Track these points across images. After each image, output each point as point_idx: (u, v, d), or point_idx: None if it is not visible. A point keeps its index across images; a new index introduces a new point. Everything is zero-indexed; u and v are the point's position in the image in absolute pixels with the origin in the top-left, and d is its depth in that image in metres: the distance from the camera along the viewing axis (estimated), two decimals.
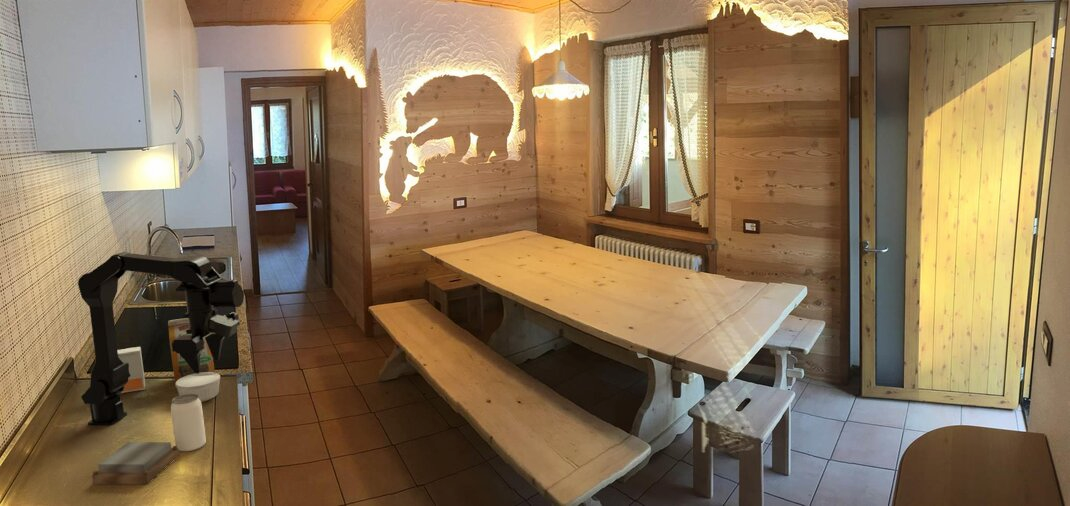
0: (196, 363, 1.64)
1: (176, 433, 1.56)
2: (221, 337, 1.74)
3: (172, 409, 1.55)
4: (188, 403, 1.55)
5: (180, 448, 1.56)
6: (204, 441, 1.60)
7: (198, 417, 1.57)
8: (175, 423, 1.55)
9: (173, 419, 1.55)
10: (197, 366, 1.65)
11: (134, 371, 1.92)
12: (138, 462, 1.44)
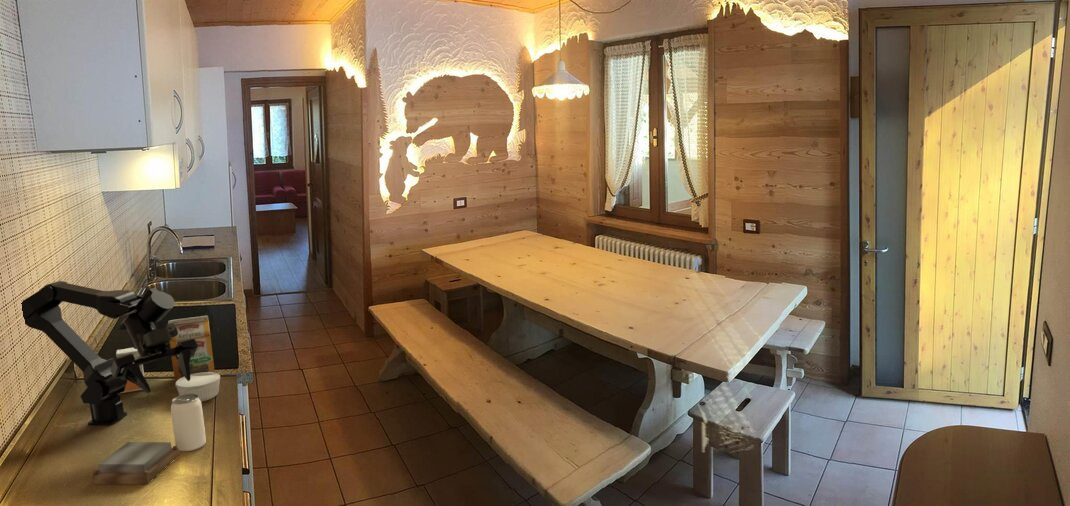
0: (140, 381, 1.58)
1: (176, 433, 1.56)
2: (182, 355, 1.66)
3: (172, 409, 1.55)
4: (188, 403, 1.55)
5: (180, 448, 1.56)
6: (204, 441, 1.60)
7: (198, 417, 1.57)
8: (175, 423, 1.55)
9: (173, 419, 1.55)
10: (143, 384, 1.58)
11: None
12: (138, 462, 1.44)
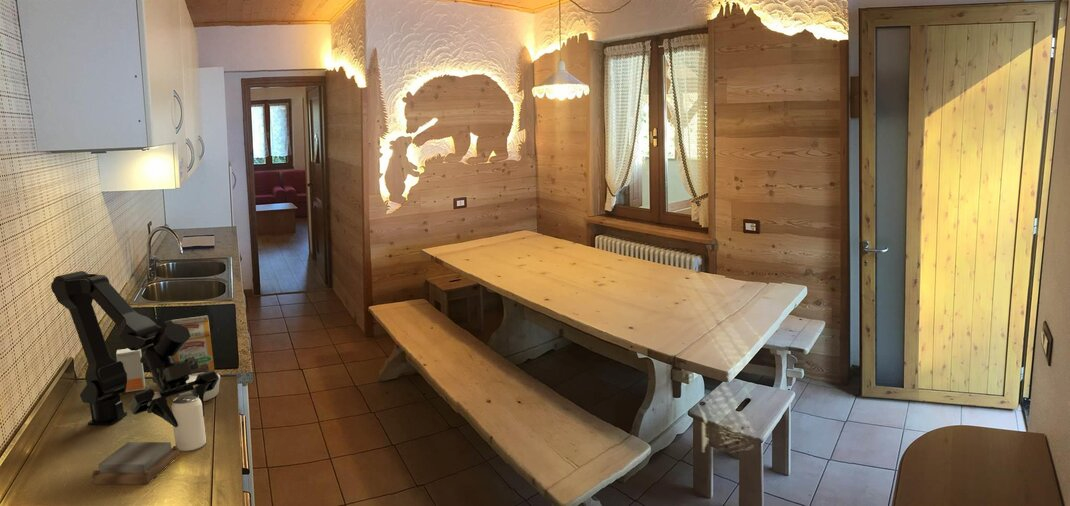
0: (167, 415, 1.55)
1: (176, 432, 1.56)
2: (196, 391, 1.61)
3: (172, 409, 1.55)
4: (188, 403, 1.55)
5: (180, 448, 1.56)
6: (204, 441, 1.60)
7: (199, 416, 1.57)
8: None
9: None
10: (170, 418, 1.55)
11: (134, 371, 1.92)
12: (138, 462, 1.44)
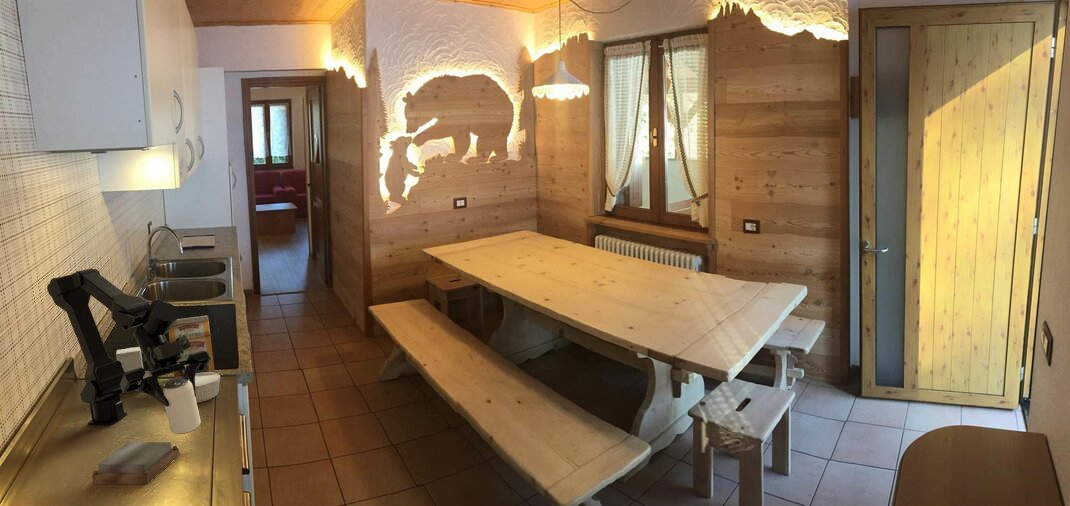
0: (158, 394, 1.52)
1: (169, 416, 1.55)
2: (187, 371, 1.59)
3: None
4: (179, 388, 1.53)
5: (174, 431, 1.56)
6: (198, 422, 1.59)
7: (190, 400, 1.55)
8: (167, 407, 1.54)
9: None
10: (161, 397, 1.52)
11: None
12: (138, 462, 1.44)
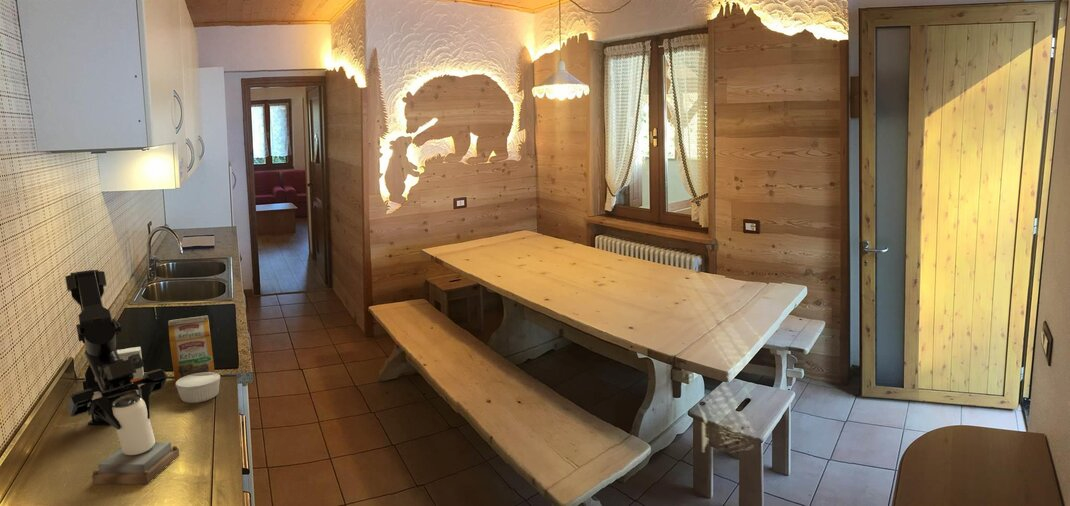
0: (109, 417, 1.43)
1: (120, 437, 1.45)
2: (141, 391, 1.49)
3: None
4: (129, 406, 1.44)
5: (125, 452, 1.46)
6: (152, 443, 1.49)
7: (142, 419, 1.46)
8: None
9: None
10: (112, 420, 1.43)
11: None
12: (138, 462, 1.44)
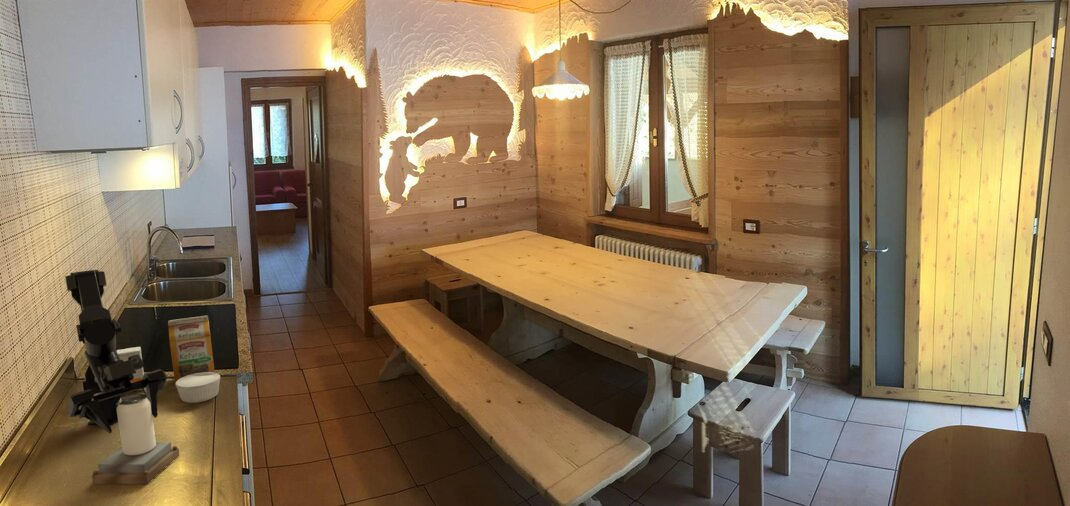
0: (100, 420, 1.42)
1: (122, 436, 1.46)
2: (149, 389, 1.51)
3: (117, 410, 1.45)
4: (134, 404, 1.45)
5: (126, 452, 1.47)
6: (153, 445, 1.50)
7: (146, 419, 1.47)
8: (121, 425, 1.45)
9: (119, 421, 1.46)
10: (103, 423, 1.42)
11: None
12: (138, 462, 1.44)
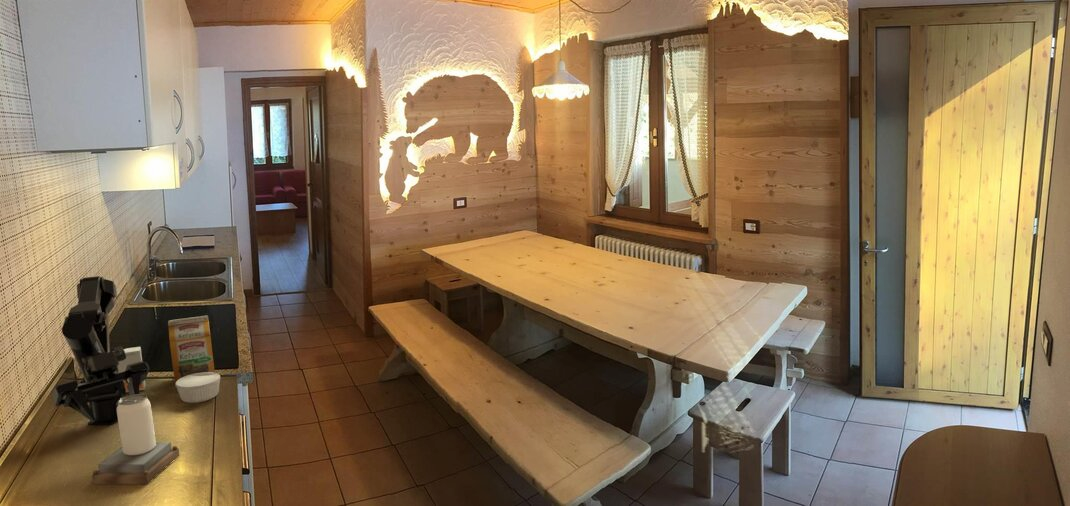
0: (84, 409, 1.48)
1: (122, 436, 1.46)
2: (131, 380, 1.56)
3: (117, 410, 1.45)
4: (134, 404, 1.45)
5: (126, 452, 1.47)
6: (153, 445, 1.50)
7: (146, 419, 1.47)
8: (121, 425, 1.45)
9: (119, 421, 1.46)
10: (86, 412, 1.48)
11: None
12: (138, 462, 1.44)
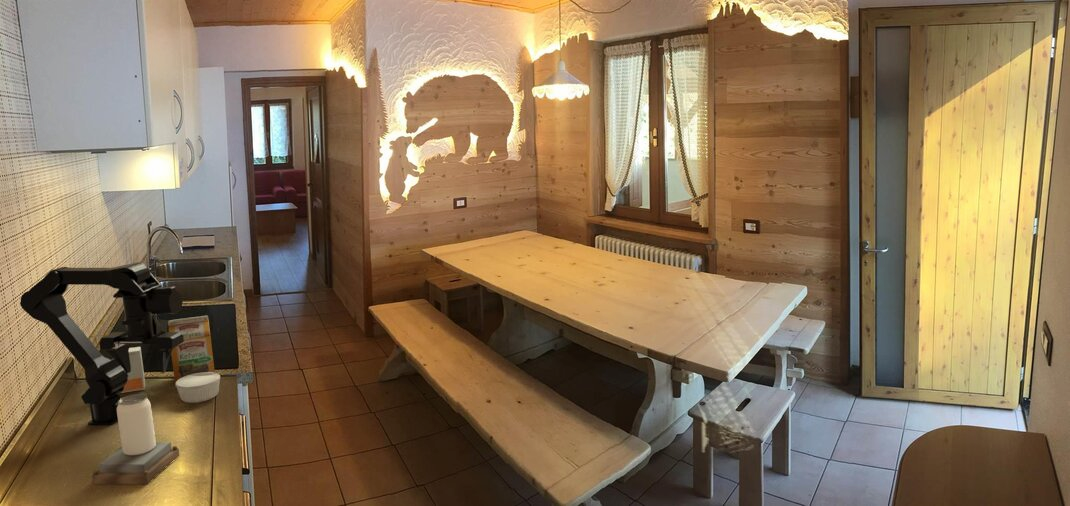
0: (167, 360, 1.71)
1: (122, 436, 1.46)
2: (128, 347, 1.72)
3: (117, 410, 1.45)
4: (134, 404, 1.45)
5: (126, 452, 1.47)
6: (153, 445, 1.50)
7: (146, 419, 1.47)
8: (121, 425, 1.45)
9: (119, 421, 1.46)
10: (167, 363, 1.71)
11: (134, 371, 1.92)
12: (138, 462, 1.44)
